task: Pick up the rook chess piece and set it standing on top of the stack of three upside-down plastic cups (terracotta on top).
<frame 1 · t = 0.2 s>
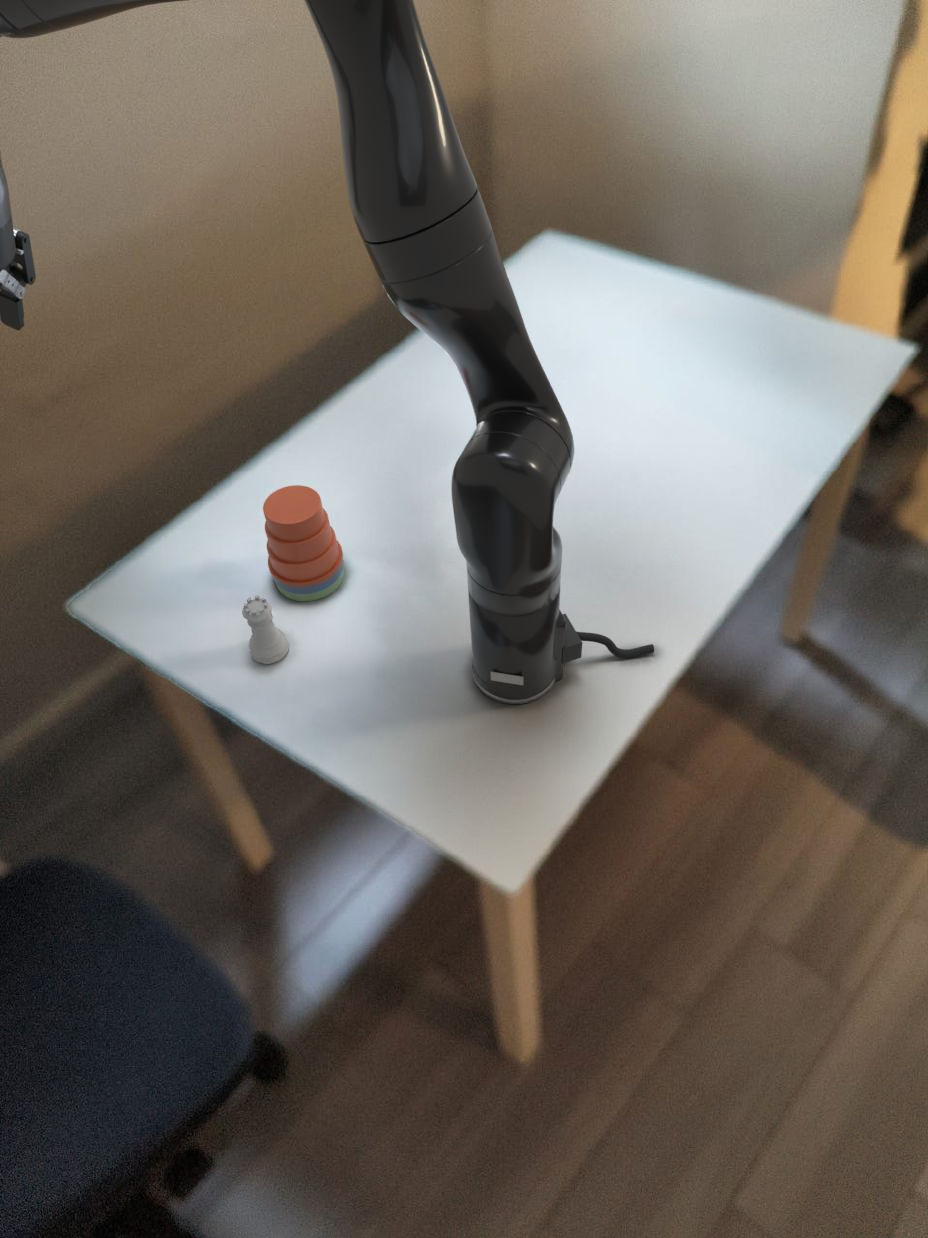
rook chess piece: (270, 652, 105), on the table
cup stack: (309, 576, 113), on the table
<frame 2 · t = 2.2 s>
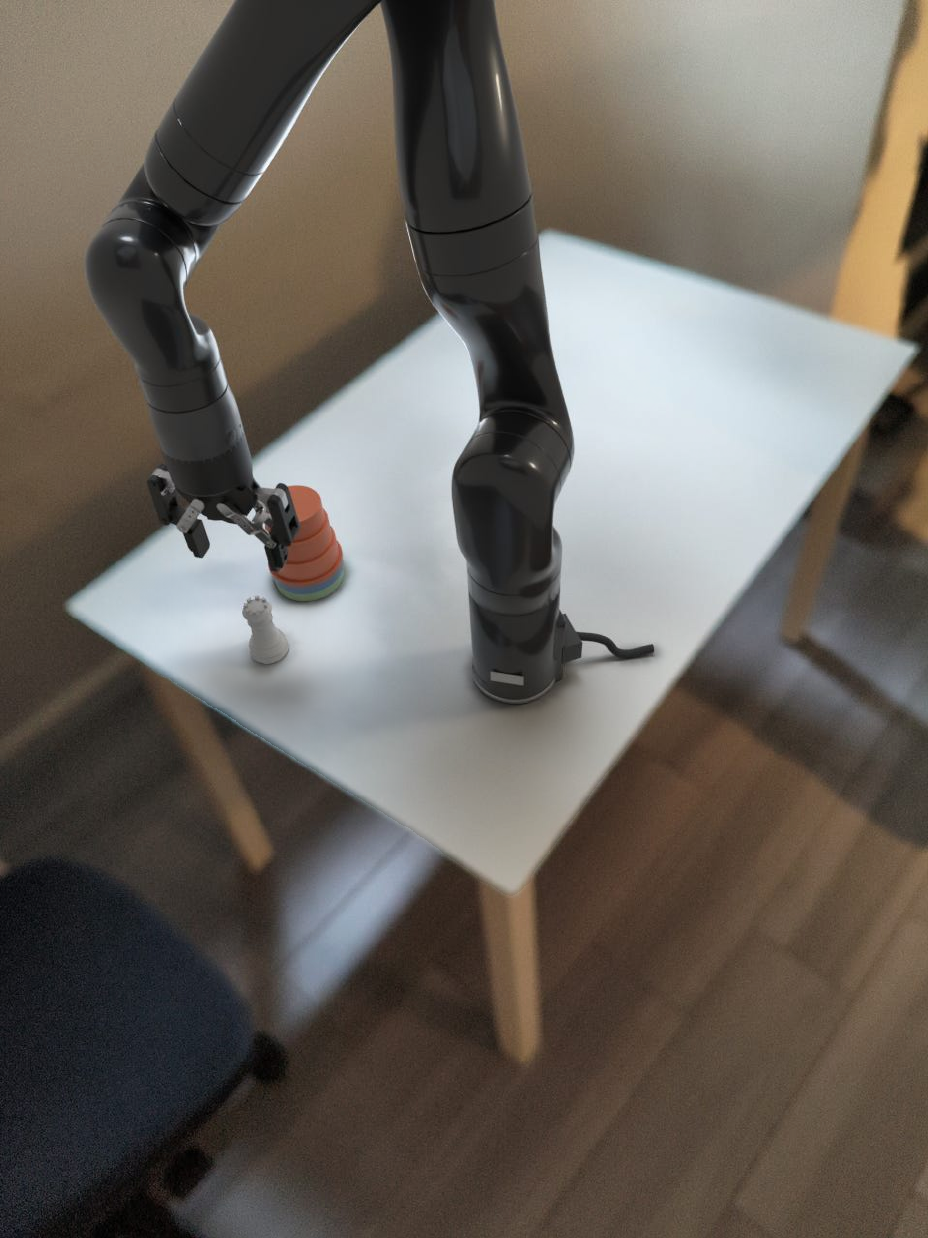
hand: (240, 559, 94), 15 cm above the table, tool pointing down, fingers open, 8 cm apart
nothing on the table moved.
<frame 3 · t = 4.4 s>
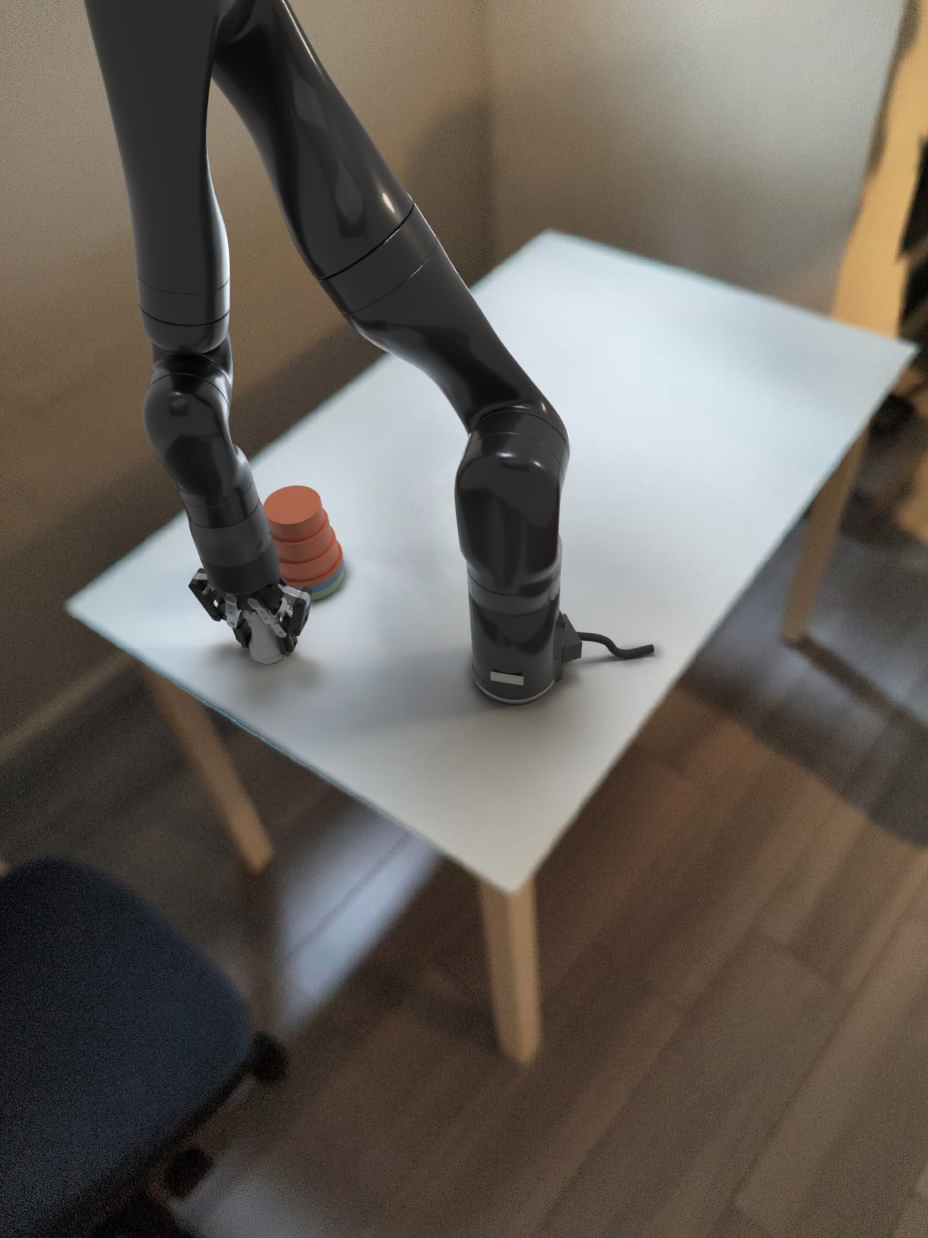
hand: (268, 645, 104), 1 cm above the table, tool pointing down, fingers closed on rook chess piece, 4 cm apart
rook chess piece: (270, 652, 105), on the table, touching gripper
everything else where it was.
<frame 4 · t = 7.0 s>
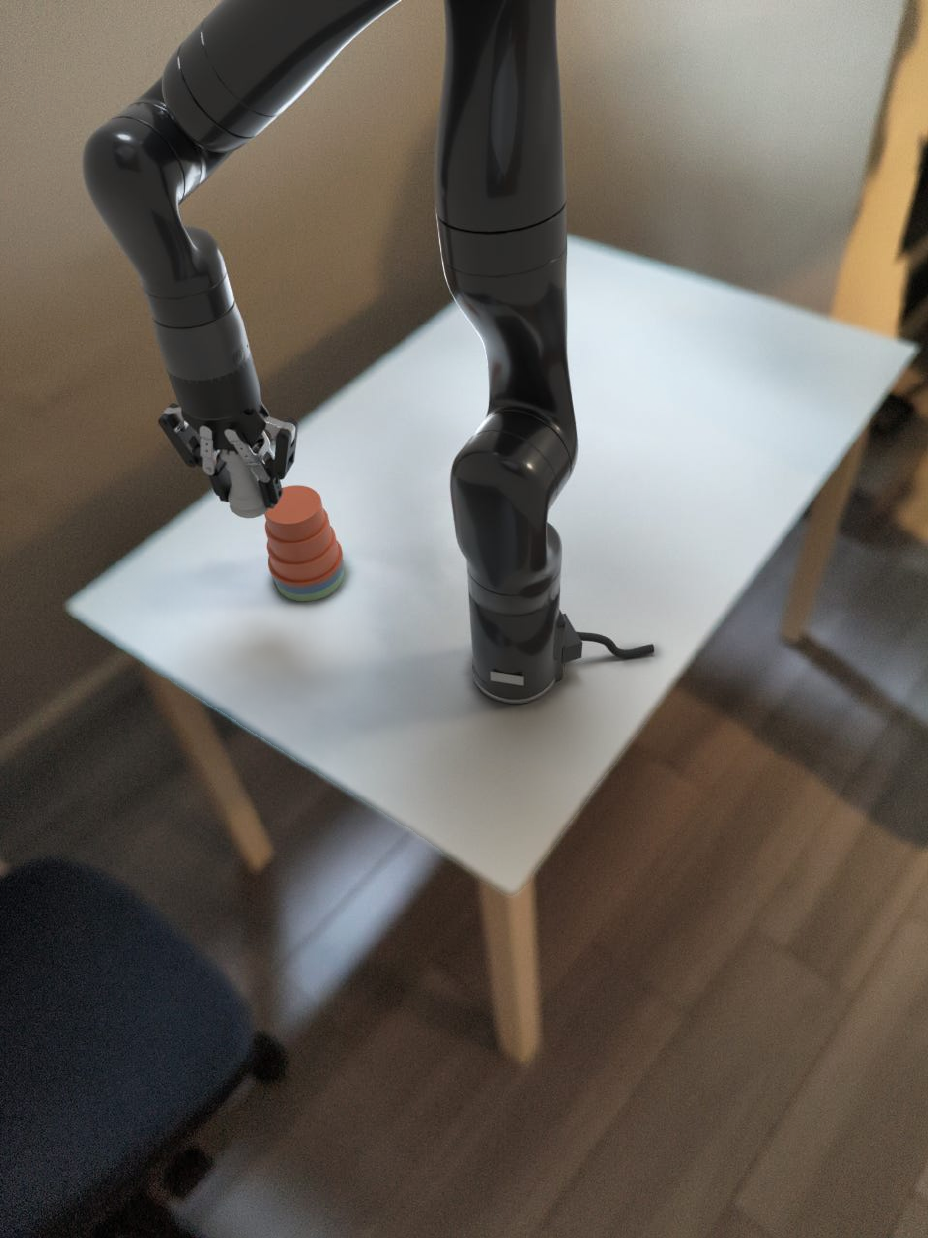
hand: (250, 499, 93), 19 cm above the table, tool pointing down, fingers closed on rook chess piece, 4 cm apart
rook chess piece: (253, 507, 94), point 18 cm above the table, touching gripper
everything else where it was.
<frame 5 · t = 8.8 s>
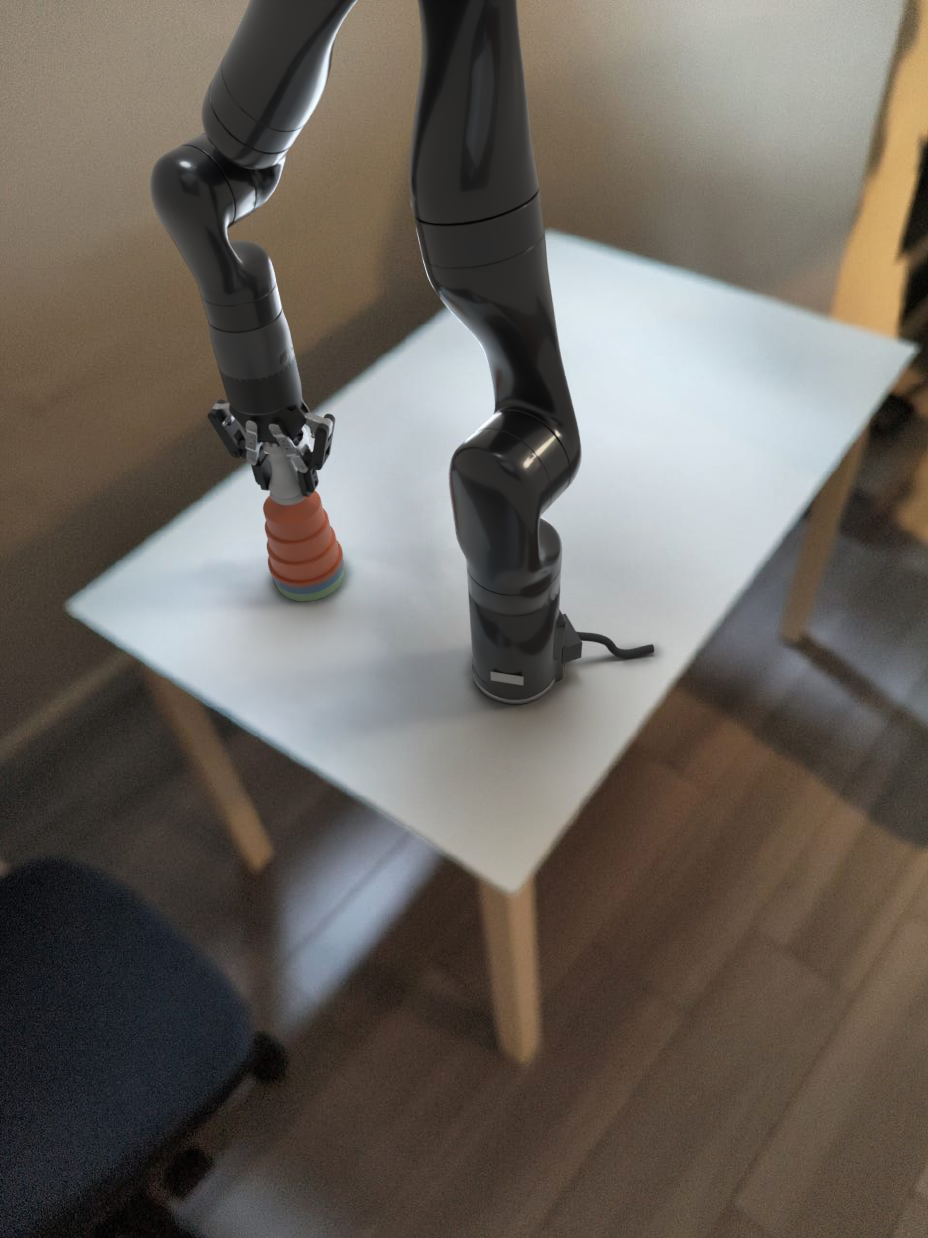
hand: (288, 488, 102), 14 cm above the table, tool pointing down, fingers closed on rook chess piece, 4 cm apart
rook chess piece: (290, 495, 103), point 13 cm above the table, touching gripper
everything else where it was.
when the fingers open (13 cm above the table, at t = 9.7 s): rook chess piece stays where it is, resting on cup stack.
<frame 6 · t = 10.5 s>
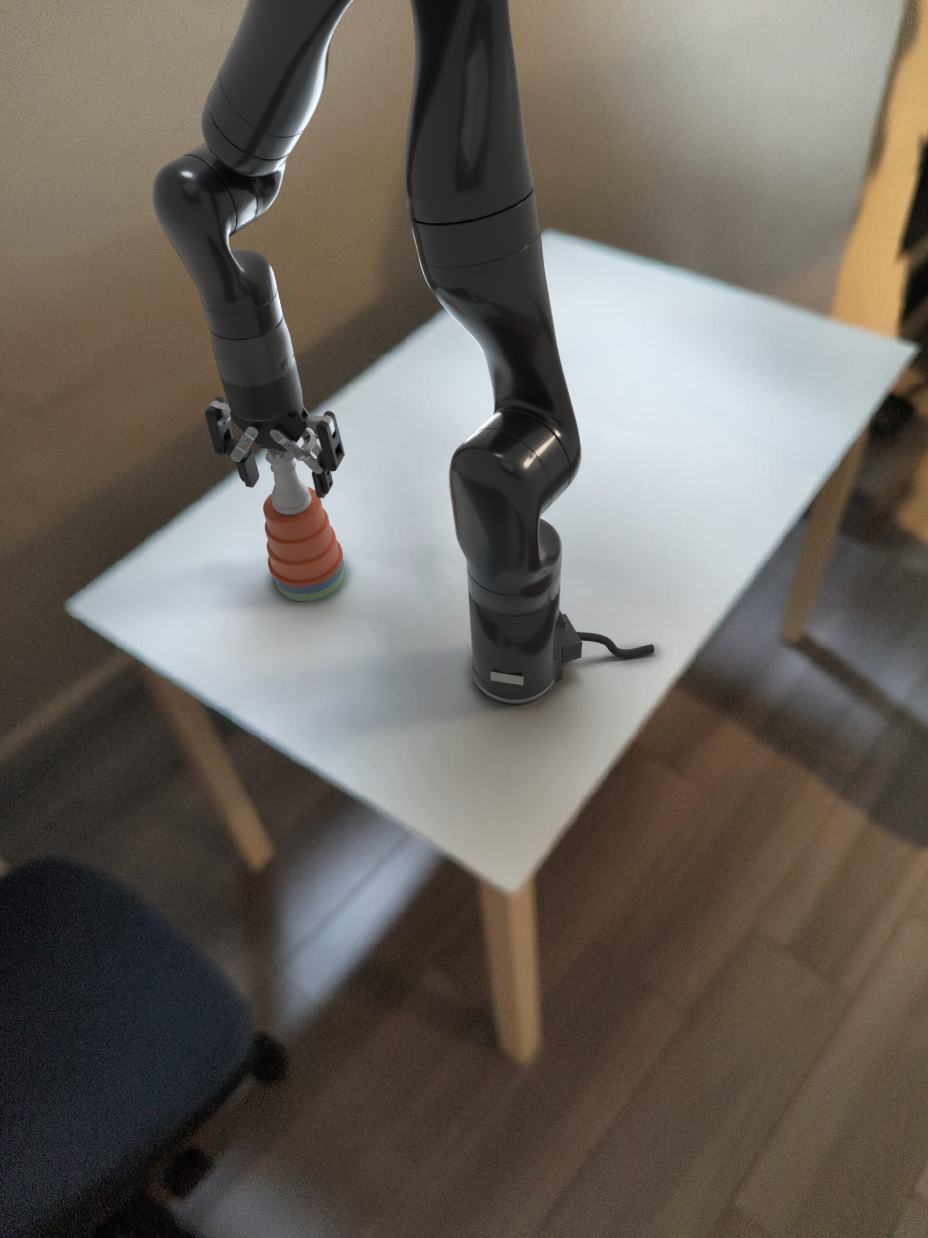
hand: (288, 487, 102), 14 cm above the table, tool pointing down, fingers open, 8 cm apart
rook chess piece: (293, 505, 104), point 12 cm above the table, touching cup stack
cup stack: (309, 576, 113), on the table, touching rook chess piece
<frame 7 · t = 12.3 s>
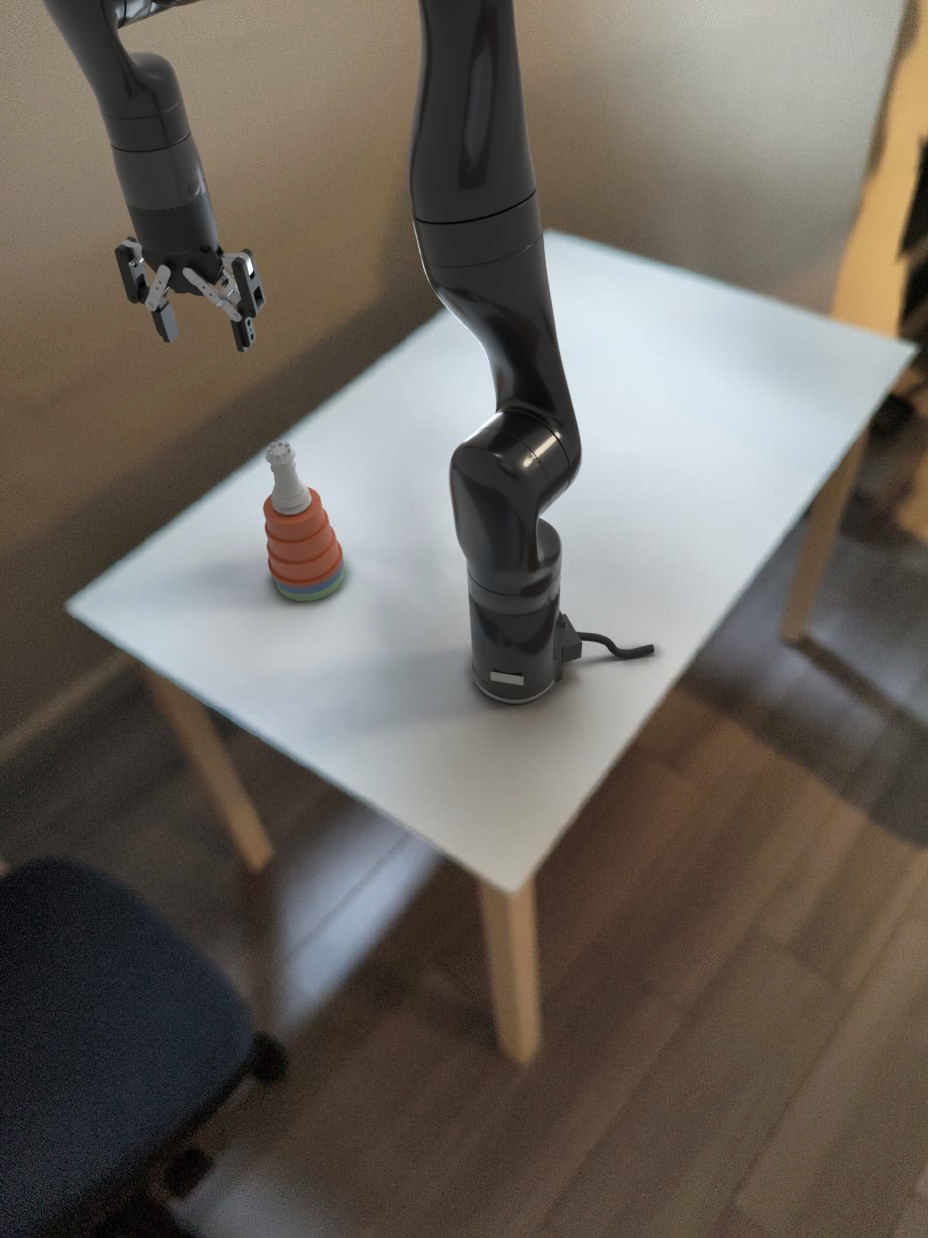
hand: (208, 343, 96), 28 cm above the table, tool pointing down, fingers open, 8 cm apart
nothing on the table moved.
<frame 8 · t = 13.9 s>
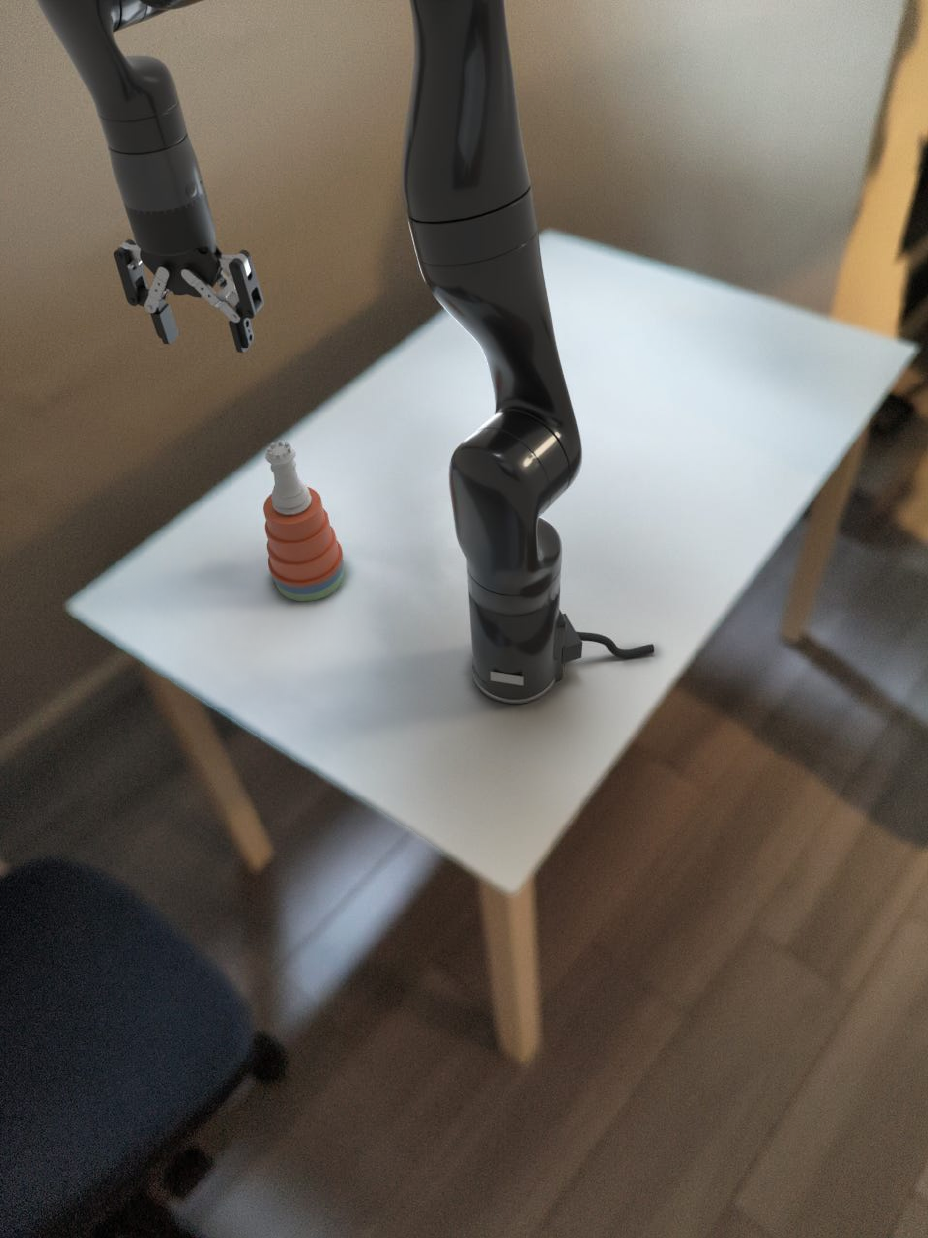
hand: (207, 344, 97), 28 cm above the table, tool pointing down, fingers open, 8 cm apart
nothing on the table moved.
at the end: rook chess piece 0.1 cm off-centre on the cup stack, point 11.6 cm above the cup stack's base; rook chess piece tilted 0°; the gripper is holding nothing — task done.
